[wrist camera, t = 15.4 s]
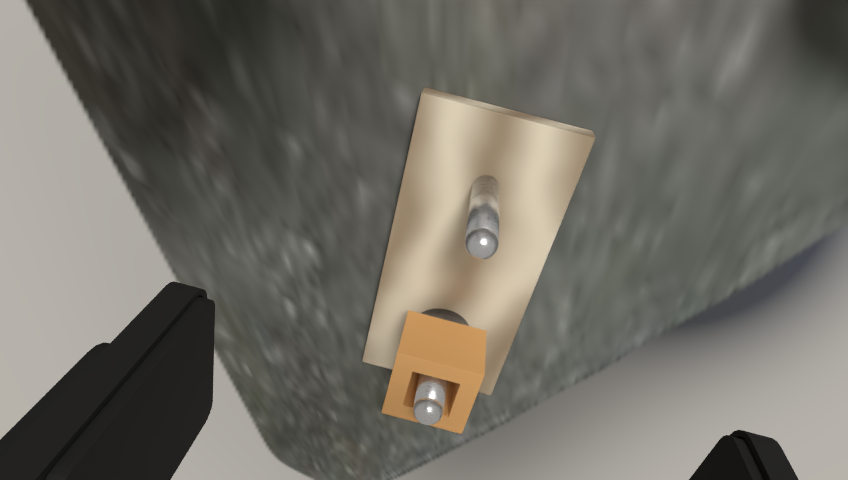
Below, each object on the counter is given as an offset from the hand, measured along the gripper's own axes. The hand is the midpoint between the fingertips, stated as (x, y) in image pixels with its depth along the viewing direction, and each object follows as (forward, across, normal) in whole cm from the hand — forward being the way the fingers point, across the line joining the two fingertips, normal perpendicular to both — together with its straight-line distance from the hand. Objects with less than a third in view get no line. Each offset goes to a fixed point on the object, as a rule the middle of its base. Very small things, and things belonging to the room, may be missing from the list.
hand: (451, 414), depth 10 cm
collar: (+27, -2, +22) cm, 35 cm away
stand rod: (+29, -2, +8) cm, 30 cm away
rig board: (+30, -2, +15) cm, 34 cm away
